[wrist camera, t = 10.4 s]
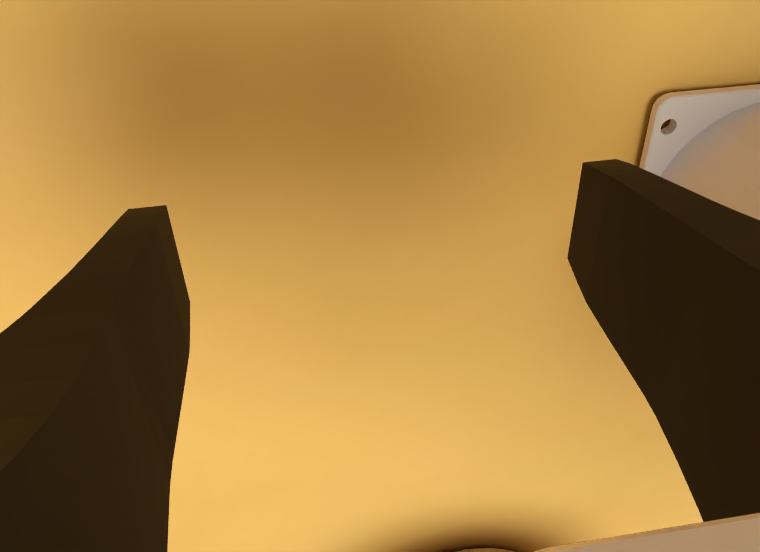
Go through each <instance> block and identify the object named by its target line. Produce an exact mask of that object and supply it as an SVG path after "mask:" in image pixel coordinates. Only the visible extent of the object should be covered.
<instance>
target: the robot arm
mask: <svg viewBox="0 0 760 552" xmlns="http://www.w3.org/2000/svg"><path fill="white" fill-rule="evenodd" d="M669 119H671V121H670V123H669V125H668V126H667V127H666V128H664V129H661V126H662V124H663V123H664V122H665V121H666V120H669ZM568 260H569V263H570V265H571V268H572V270H573V273H574V275H575V278H576V280H577V283H578V285H579V287H580V289H581V292H582V294H583V296H584V298H585V301H586V303H587V304H588V306H589V308H590V309H591V311H592V313H593V314H594V316H595V318H596V319H597V321H598V322H599V324H600V326H601V327H602V329H603V331H604V332H605V334H606V335H607V337H608V339H609V340H610V342H611V343H612V345H613V347H614V348H615V350H616V351H617V353H618V354H619V356H620V358H621V359H622V361H623V362H624V364H625V366H626V367H627V369H628V370H629V372H630V374H631V375H632V377H633V378H634V380H635V381H636V383H637V385H638V386H639V388H640V389H641V391H642V393H643V394H644V396H645V398H646V399H647V401H648V403H649V405H650V406H651V408H652V410H653V412H654V414H655V415H656V417H657V419H658V422H659V424H660V426H661V428H662V430H663V432H664V434H665V436H666V438H667V440H668V442H669V445H670V447H671V449H672V451H673V453H674V455H675V457H676V459H677V461H678V464H679V466H680V468H681V470H682V473H683V475H684V477H685V480H686V482H687V484H688V486H689V489H690V491H691V493H692V496H693V498H694V500H695V502H696V505H697V507H698V509H699V512H700V514H701V517H702V519H703V522H701V523H695V524H689V525H683V526H676V527H670V528H664V529H658V530H652V531H646V532H640V533H634V534H627V535H621V536H615V537H609V538H603V539H597V540H591V541H584V542H578V543H572V544H566V545H560V546H554V547H548V548H544V549H541V550H538V551H534V552H760V84H756V85H746V86H735V87H724V88H713V89H702V90H691V91H681V92H670V93H667V94H664V95H662V96H661V97H659V98H658V99H657V100H656V102H655V103H654V105H653V107H652V111H651V115H650V120H649V124H648V129H647V134H646V138H645V143H644V148H643V152H642V157H641V162H640V166H639V167H637V166H634V165H632V164H629V163H626V162H623V161H620V160H617V159H613V160H604V161H594V162H584V163H583V165H582V171H581V178H580V184H579V190H578V196H577V202H576V209H575V215H574V221H573V227H572V233H571V240H570V246H569V252H568ZM189 347H190V300H189V296H188V292H187V288H186V284H185V280H184V276H183V272H182V268H181V264H180V260H179V256H178V251H177V247H176V243H175V239H174V235H173V231H172V227H171V223H170V219H169V215H168V211H167V207H166V205H164V206H155V207H145V208H135V209H128V210H127V211H126V212H125V213H124V214H123V215H122V216H121V217H120V218H119V219H118V220H117V221H116V223H115V224H114V225H113V226H112V227H111V228H110V229H109V230H108V231H107V232H106V233H105V235H104V236H103V237H102V238H101V239H100V240H99V241H98V242H97V243H96V244H95V246H94V247H93V248H92V249H91V250H90V251H89V252H88V253H87V254H86V255H85V256H84V257H83V258H82V259H81V260H80V261H79V262H78V263H77V264H76V266H75V267H74V268H73V269H72V270H71V271H70V272H69V273H68V274H67V275H66V276H65V277H64V278H63V279H61V280H60V281H59V282H58V283H57V284H56V285H55V286H54V287H53V288H52V289H51V290H50V291H49V292H48V293H47V294H45V295H44V296H43V297H42V298H41V299H40V300H39V301H38V302H37V303H36V304H35V305H34V306H33V307H32V308H31V309H29V310H28V311H27V312H26V313H25V314H24V315H22V316H21V317H20V318H19V319H18V320H16V321H15V322H14V323H13V324H12V325H10V326H9V327H8V328H7V329H5V330H4V331H3V332H1V333H0V552H167V543H168V518H169V494H170V480H171V470H172V461H173V455H174V448H175V442H176V436H177V429H178V423H179V417H180V410H181V404H182V398H183V391H184V385H185V378H186V372H187V365H188V358H189Z"/></svg>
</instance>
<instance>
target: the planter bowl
mask: <svg viewBox="0 0 760 552" xmlns="http://www.w3.org/2000/svg"><path fill="white" fill-rule="evenodd" d="M456 552H514V551H511V550H505V549H496V548H478V549H464V550H461V551H456Z"/></svg>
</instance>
